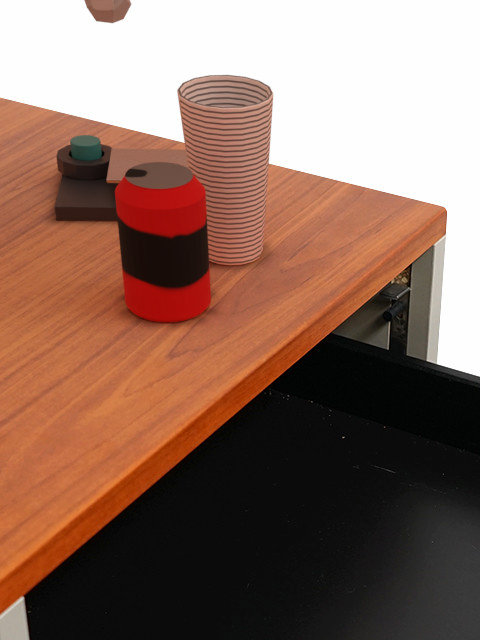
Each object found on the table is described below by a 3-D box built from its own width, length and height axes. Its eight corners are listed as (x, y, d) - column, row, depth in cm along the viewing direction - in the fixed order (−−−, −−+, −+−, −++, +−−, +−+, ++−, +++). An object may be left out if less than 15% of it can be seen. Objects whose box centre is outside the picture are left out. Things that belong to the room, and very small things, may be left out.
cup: (174, 240, 135) (164, 79, 125) (257, 228, 138) (253, 70, 128) (203, 278, 129) (195, 112, 119) (289, 264, 133) (287, 102, 123)
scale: (51, 220, 137) (47, 191, 135) (62, 169, 146) (59, 141, 144) (200, 221, 139) (199, 192, 137) (202, 171, 148) (200, 144, 146)
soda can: (134, 281, 128) (123, 154, 120) (217, 287, 128) (211, 161, 120) (117, 321, 122) (104, 190, 114) (204, 326, 122) (196, 196, 115)
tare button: (70, 162, 141) (68, 145, 140) (73, 151, 143) (71, 134, 142) (100, 163, 142) (99, 146, 141) (102, 151, 144) (101, 135, 143)
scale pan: (106, 183, 137) (106, 179, 137) (111, 151, 143) (111, 148, 143) (189, 184, 138) (188, 180, 138) (190, 153, 144) (190, 149, 144)
